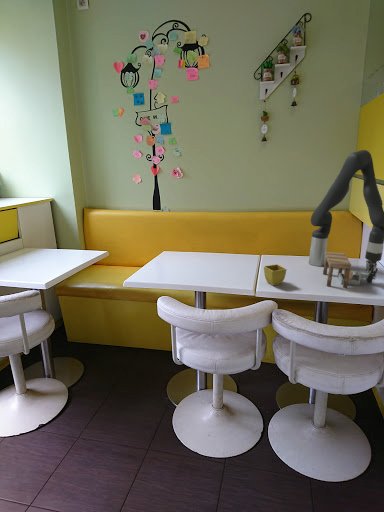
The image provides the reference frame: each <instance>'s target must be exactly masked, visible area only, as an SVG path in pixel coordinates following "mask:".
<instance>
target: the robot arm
mask: <svg viewBox="0 0 384 512" xmlns="http://www.w3.org/2000/svg"><path fill="white" fill-rule="evenodd" d="M358 171H360V172H361V174H362V178H363V185H362V186H363V189H362V193H363V198H364V201H365V204H366V206H367V210H368V216H369V220H370V222H371V224H372V226H371V230H370V232H369V236H368V241H367V246H366V250H365V257H364V258H365V259H366V261H365V262H366V265H365V271H366V272H365V273H368V279H365V281H366V282H367V283H369V284H372V283H373V280H374V279H373V276H375V275H376V276H377V272H378V269H379V268H378V263H377V262H379V261H381V260H382V258H383V257H382V256H383V250H384V208H383V205H384V204H383V200H382V197H381V194H380V191H379V188H378V184H377V179H376V175H375V168H374V162H373V156H372V154H371V152H370V151H369V150H367V149H361V150H358V151H354V152H352V153H350V154H349V155H348V156H347V157H346V159H344V163H343V165H342V167H341V169H340V172H339V173H338V175H337V176H336V178H335V179H334V181H333V182H332V183H331V186H330V188H329V189H328V191H327V193H326V194H325V195H324V197H323V199H322V200H321V202H320V203H319V204H318V206H317V207H316V208H315V210H313V212H312V214H311V217H310V224H311V226H314V227H318V228H317V229H316V230H313V231H312V233H311V241H310V250H309V251H310V252H309V257H308V259H309V260H308V264H309V265H311V266H315V267H322V266H323V267H324V262H325V253H326V252H327V247H328V240H329V235H330V233H331V228H332V223H333V222H332V221H333V216H332V215H333V214H332V212H331V210H332V209H333V208H335V207H336V206H337V205H339V204H340V203H341V202H343V200H344V199H345V198H346V197H347V194H348V192H349V190H350V184H351V181H352V179H353V177H354V176H355V175H356V174H357V172H358Z"/></svg>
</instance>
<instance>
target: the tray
mask: <svg viewBox="0 0 384 512" xmlns="http://www.w3.org/2000/svg"><path fill="white" fill-rule="evenodd" d="M345 271H346V268H343V272H342V273H339V276H338V280H339V282H340V285H343V284H344V277H345ZM376 278H377V274H376V275H375V276H373V280H376ZM361 279H363V280H366V279H368V273H366V272H359V271H358V270H357V269H355V273H354V272H353V271H352V269H351V268H350V273H349V279H348V285H347V286H357V287H359V286H361Z"/></svg>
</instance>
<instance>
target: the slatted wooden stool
mask: <svg viewBox="0 0 384 512" xmlns="http://www.w3.org/2000/svg"><path fill="white" fill-rule="evenodd" d="M351 267H352V264H351V262H350V260H349V258H348V257H347V255H346V253H343V252H334V251H333V252H332V251H326V253H325V262H324V265H323V271H322V275H325V276H327V279H326V280H327V281H326V286H327V287H328V288H330V287H331V286H332V281H333V280H332V279H333V272H334V268H338V272H337V276H338V277H339V273H342V274H343V271H344V269H345V268H346V271H345V277H344V284H342V288H344V289H348V286H349V285H348V279H349V273H350V269H351Z"/></svg>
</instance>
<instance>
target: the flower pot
mask: <svg viewBox="0 0 384 512" xmlns="http://www.w3.org/2000/svg"><path fill="white" fill-rule="evenodd" d="M287 270H288V269H287V268H285V267H283V266H281V265H279V264H270V265H264V266H263V274H264V278H265V281H267V283H268V284H270V285H272V286H277V285H281V284H283V282H284V280H285V278H286V275H287Z"/></svg>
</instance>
